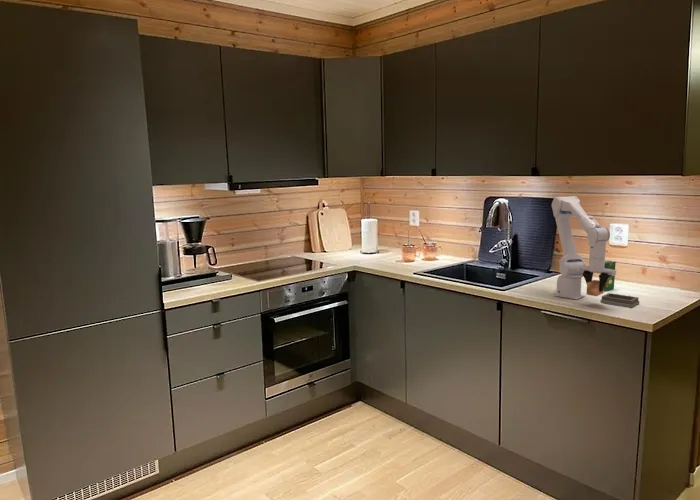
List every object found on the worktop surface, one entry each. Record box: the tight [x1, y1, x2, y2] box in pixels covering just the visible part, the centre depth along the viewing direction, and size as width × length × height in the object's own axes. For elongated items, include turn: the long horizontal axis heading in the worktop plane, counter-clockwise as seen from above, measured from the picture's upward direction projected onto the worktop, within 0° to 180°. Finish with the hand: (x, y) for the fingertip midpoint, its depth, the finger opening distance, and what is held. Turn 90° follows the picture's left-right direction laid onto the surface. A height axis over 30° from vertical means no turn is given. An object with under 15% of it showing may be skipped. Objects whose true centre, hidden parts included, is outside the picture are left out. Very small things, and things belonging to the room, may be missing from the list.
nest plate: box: [599, 292, 640, 309], centre depth 218 cm, size 12×9×3 cm
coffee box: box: [599, 260, 617, 292], centre depth 240 cm, size 8×3×13 cm, turn 124°
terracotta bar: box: [585, 279, 605, 297], centre depth 214 cm, size 4×7×5 cm, turn 134°
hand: (595, 290), depth 214 cm, fingers closed on terracotta bar, 4 cm apart
